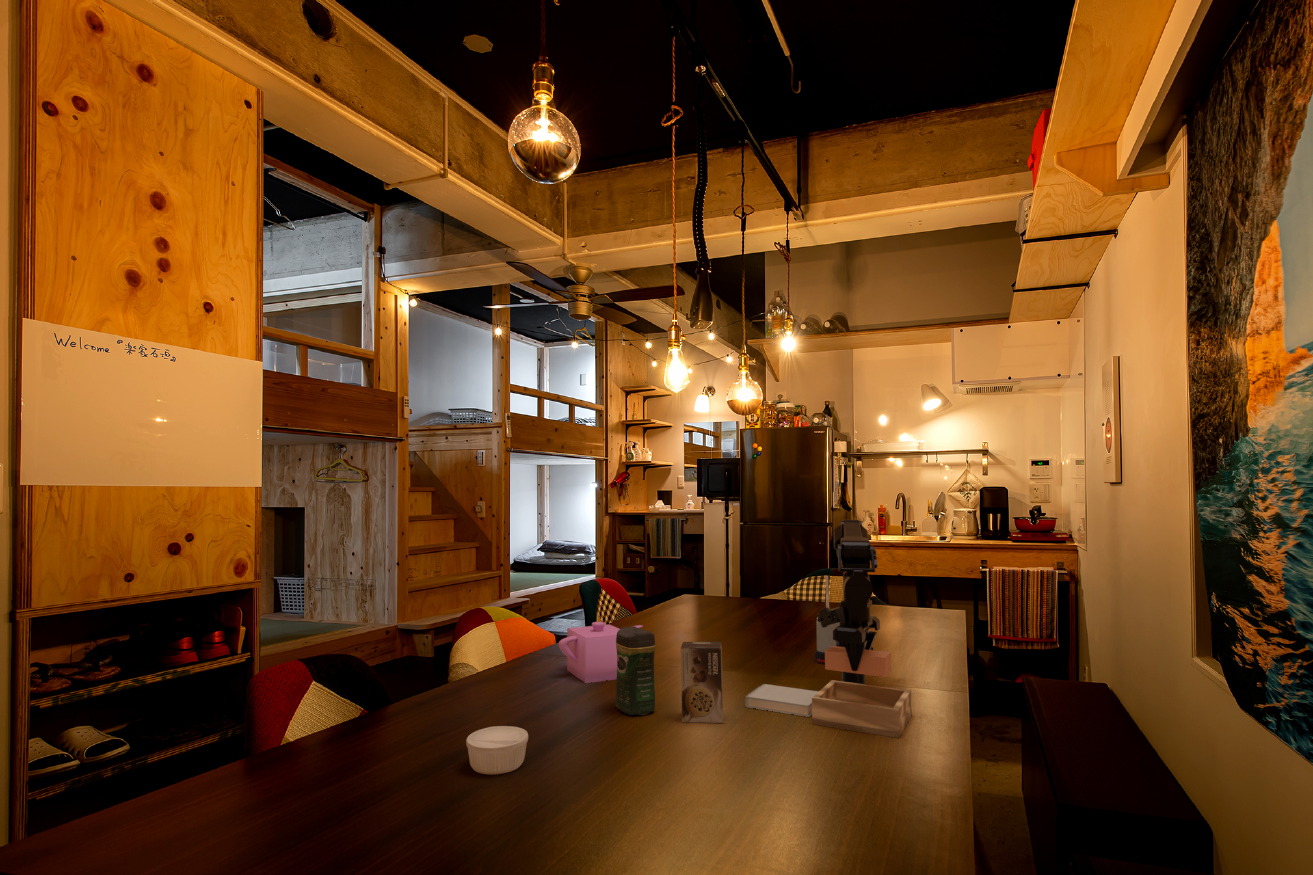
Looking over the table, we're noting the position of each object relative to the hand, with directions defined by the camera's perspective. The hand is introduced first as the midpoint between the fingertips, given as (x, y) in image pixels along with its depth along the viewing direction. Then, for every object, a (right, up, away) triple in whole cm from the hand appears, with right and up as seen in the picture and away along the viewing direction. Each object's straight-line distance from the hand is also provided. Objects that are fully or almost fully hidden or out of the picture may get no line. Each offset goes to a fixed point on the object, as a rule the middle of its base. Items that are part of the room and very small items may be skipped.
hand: (858, 667), depth 154 cm
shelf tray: (+1, -11, -1) cm, 11 cm away
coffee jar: (-50, -12, +6) cm, 51 cm away
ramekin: (-74, -9, -26) cm, 79 cm away
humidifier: (+6, -15, +51) cm, 54 cm away
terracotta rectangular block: (0, -1, 0) cm, 0 cm away
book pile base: (-15, -12, +9) cm, 21 cm away
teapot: (-60, -15, +38) cm, 73 cm away
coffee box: (-35, -11, 0) cm, 36 cm away
